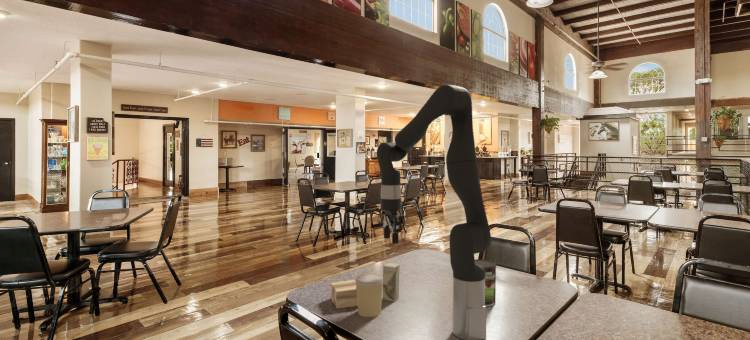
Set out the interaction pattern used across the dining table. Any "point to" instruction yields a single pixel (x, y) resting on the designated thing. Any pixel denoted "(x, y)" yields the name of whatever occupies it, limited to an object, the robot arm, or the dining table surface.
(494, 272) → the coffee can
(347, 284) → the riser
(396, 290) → the box
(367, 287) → the coffee cup
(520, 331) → the dining table surface
